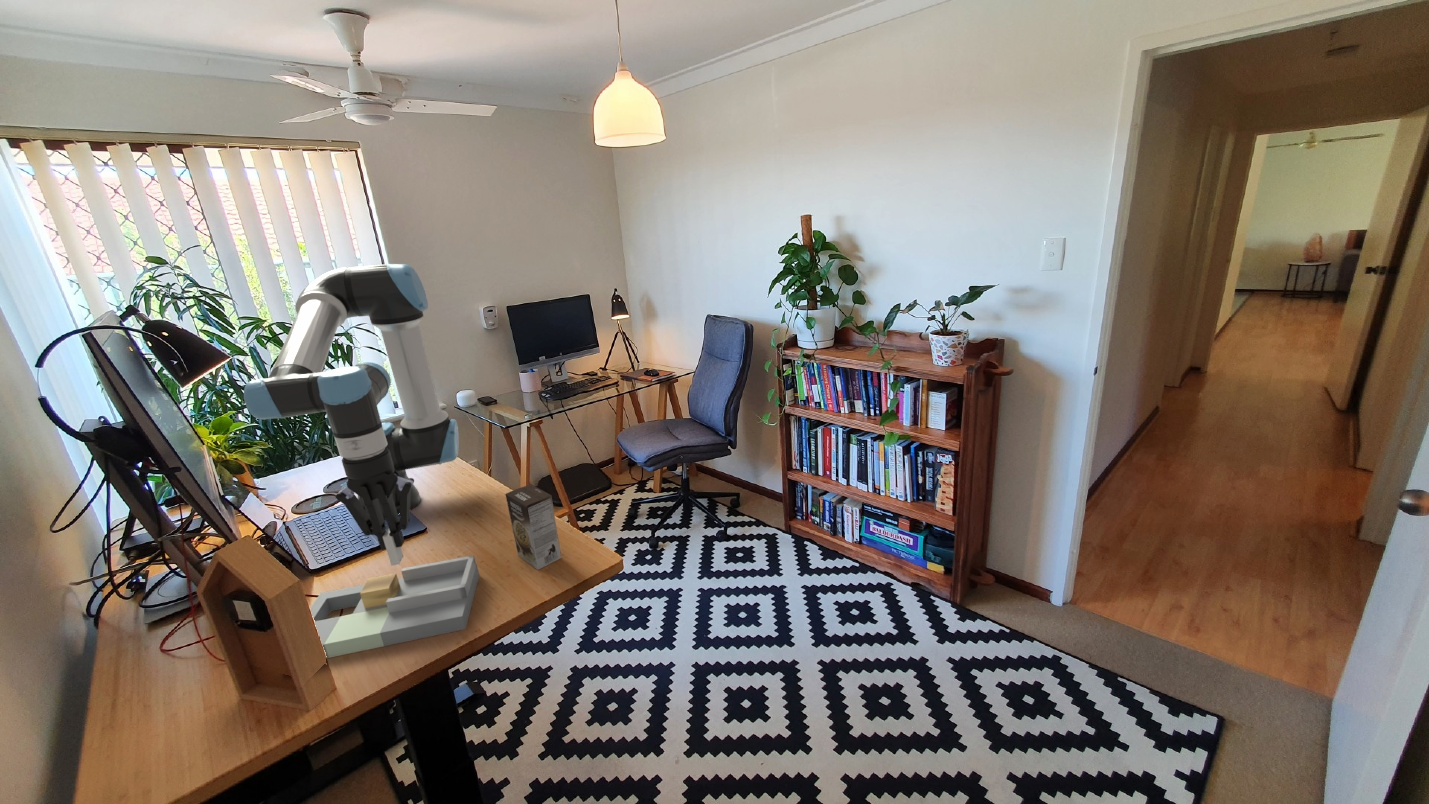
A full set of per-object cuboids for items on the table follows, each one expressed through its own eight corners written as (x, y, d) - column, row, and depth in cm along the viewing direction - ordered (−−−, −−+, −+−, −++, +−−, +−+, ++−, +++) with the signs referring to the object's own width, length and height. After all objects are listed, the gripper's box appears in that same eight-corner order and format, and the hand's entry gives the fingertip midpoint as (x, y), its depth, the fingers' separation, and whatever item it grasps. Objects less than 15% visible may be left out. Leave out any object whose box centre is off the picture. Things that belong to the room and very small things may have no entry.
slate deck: (325, 605, 111) (317, 582, 110) (479, 575, 118) (474, 554, 116) (284, 667, 96) (274, 642, 94) (465, 629, 102) (459, 605, 100)
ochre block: (373, 592, 109) (368, 578, 108) (400, 587, 111) (396, 572, 109) (364, 608, 105) (360, 593, 104) (393, 603, 106) (388, 588, 105)
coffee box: (516, 556, 124) (503, 493, 119) (541, 543, 128) (530, 482, 123) (537, 571, 118) (524, 506, 113) (563, 557, 122) (551, 494, 117)
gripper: (315, 466, 94) (353, 579, 102) (397, 455, 97) (428, 565, 104) (333, 449, 101) (367, 556, 109) (409, 439, 103) (437, 544, 111)
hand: (397, 560), depth 107 cm, fingers closed
